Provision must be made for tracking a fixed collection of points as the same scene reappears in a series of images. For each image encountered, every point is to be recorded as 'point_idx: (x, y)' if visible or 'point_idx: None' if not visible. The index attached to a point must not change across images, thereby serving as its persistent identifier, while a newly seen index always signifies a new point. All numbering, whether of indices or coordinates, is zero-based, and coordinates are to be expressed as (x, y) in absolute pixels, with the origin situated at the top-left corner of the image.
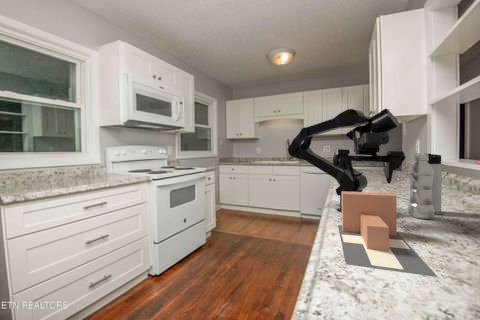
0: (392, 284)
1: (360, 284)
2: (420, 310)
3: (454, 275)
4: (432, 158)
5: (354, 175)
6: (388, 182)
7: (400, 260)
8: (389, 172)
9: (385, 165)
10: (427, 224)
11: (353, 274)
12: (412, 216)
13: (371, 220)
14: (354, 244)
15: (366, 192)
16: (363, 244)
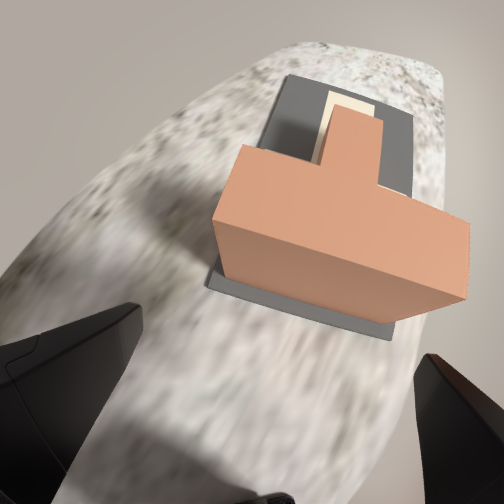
0: (358, 77)
1: (397, 84)
2: (347, 49)
3: (253, 82)
4: None
5: (440, 374)
6: (140, 325)
7: (318, 111)
8: (78, 337)
9: (8, 498)
10: None
11: (402, 100)
12: None
13: (358, 156)
14: (385, 180)
15: (354, 251)
16: None
